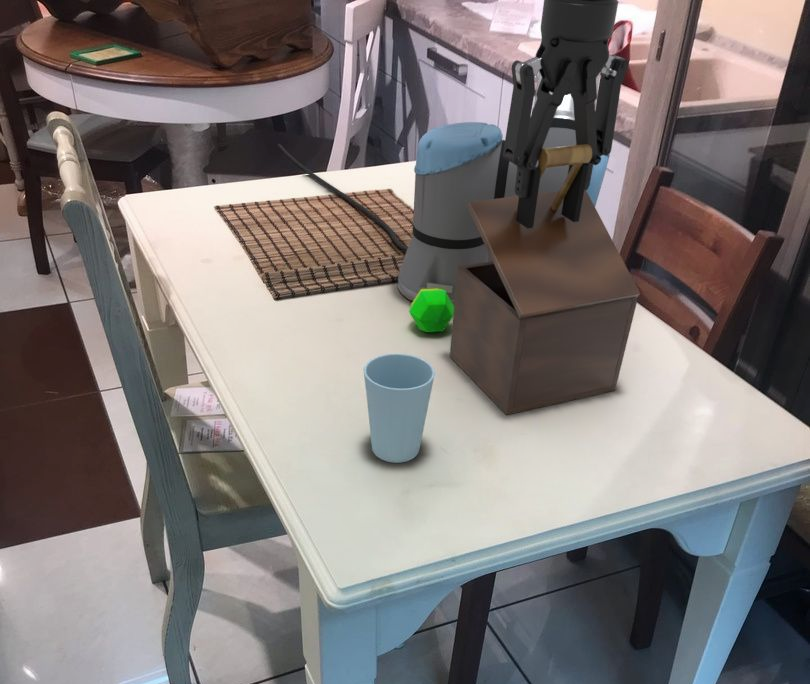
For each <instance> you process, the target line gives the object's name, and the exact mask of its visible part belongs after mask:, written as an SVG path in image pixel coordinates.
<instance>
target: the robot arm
mask: <svg viewBox="0 0 810 684" xmlns="http://www.w3.org/2000/svg"><path fill="white" fill-rule="evenodd" d="M618 7H619V0H543V5H542V14H541V19H540V20H541V21H540V36H541V41H540V43H539V44H540V45H539V47H538V49H537V51H536V52H535V56H533V57H531V58H529V59H527V60H525V61H521V60H514V61H512V65H511V75H512V83H513V84H512V85H513V86H512V93H511V101H510V106H509V113H508V119H507V126H506V131H505V132H506V133H505V138H504V135H503V133H502V129H501V128H500V127H499V126H498V125H496V124H492V123H489V124H488V123H487V122H479V121H467V122H454V123H449V124H445V125H441V126H438V127H437V126H436V127H435V128H433V129H430V130H428V131H427V132H426V133H424V134H423V135H422V137H421V138H420V139H419V141H418V145H417V151H416V159H415V165H414V168H413V172H414V174H415V176H414V196H413V215H412V232H411V233H412V234H411V239H410V241H409V244H408V245H407V246H406V245H404V244H403V243H402V242H401V241H400V240H399V239H398V237H397V235H396V234H395V232H394V231H393V229H392V228H391V227H390V226H389V225H388V224H387V223H386V222H384V221H383V220H382V219H380V218H379V217H378V216H377V215H375V214H374V213H373V212H371V211H370V210H369V209H367V208H366V207H364V206H363V205H362V204H360V203H359V202H357V201H356V200H354V199H353V198H352V197H351V196H349V195H347V194H345V193H344V192H342V191H341V190H340V189H338V188H336V187H334V186H333V185H332V184H330V183H329V182H327V181H326V180H324V179H323V178H321V177H320V176H318V175H317V174H316V173H314V172H313V171H311V170H310V169H308V168H307V167H306V166H304V165H303V164H302V163H300V162H299V161H298V160H297V159H296V158H294V156H292V155H291V153H290V152H289V151H287V149H285V147H284V146H283V145H282V144H280V143H278V144H277V148H278V149H279V150H280V151H281V153H282V154H284V156H285V157H286V158H288V159H289V160H290V161H291V162H292V163H293V165H295V166H296V167H298V168H299V169H300V170H302V172H304V173H305V174H307V175H308V176H309V177H311V178H312V179H314V180H315V181H316V182H318V183H319V184H321V185H322V186H324V187H325V188H327V189H329V190H330V191H332V192H333V193H335V194H336V195H337V196H339V197H341V198H342V199H344V200H345V201H346V202H348V203H350V204H351V205H353V206H354V207H356V209H358V210H360V211H361V212H362V213H364V214H365V215H366V216H368V217H369V218H370V219H372V220H373V221H374V222H376V224H378V225H380V226H381V227H382V228H383V229H384V230H385V231H386V233H388V235H389V236H390V238H391V240H392V241H393V243H394V244H395V246H396V247H397V248H399V249H400V250H401V251H403V252H405V255H404V258H403V260H402V263H401V265H400V268H399V272H398V276H397V288H398V291H399V293H400V294H401V295H402V296H403V297H405V298H406V299H408V300H409V301H411V302H413V301H414V299H415V298H416V296H417V295H418V293H419V292H420V290H421V289H435V288H437V289H441V290H445V291H446V293H447V295H448V297H449V299H450V301H451V303H452V304H453V306H454V303H455V292H456V281H457V270H458V267H459V266H465V265H472V264H478V263H485V262H491V261H492V259H491V256H490V254H489V252H488V250H487V248H486V246H485V244H484V242H483V239H482V237H481V235H480V233H479V231H478V229H477V227H476V225H475V222H474V220H473V218H472V216H471V214H470V212H469V210H468V208H467V206H468V204H469V202H474V201H482V200H490V199H499V198H507V197H515V196H519V200H518V208H517V216H516V221H517V222H519V223H520V224H522V225H523V226H525V227H526V228H533V225H534V218H535V211H536V204H537V197H538V194H539V193H548V192H556V191H559V190H560V188H561V186H562V185H563V183H564V181H565V179H566V177H567V175H568V173H569V172H570V170H571V168H572V166H573V165H565V166H556V167H547V168H546V169H545V171H544V173H543V175H542V177H541V179H540V176H541V170H540V169H539V168H537V166H538V164H539V163H538V158H539V155H540V153H541V150H542V148H551V147H561V146H571V145H580V144H589V145H590V146H591V148H592V158H591V160H590V162H588V163H583V164H582V166H581V168H580V170H579V172H578V173H577V175H576V177H575V179H574V181H573V182H572V184H571V186H570V188H569V190H568V192H567V193H566V195H565V197H564V201H563V207H562V213H561V214H562V215H563V216H565V217H566V218H568V219H569V220H571V221H573V222H578V221H579V217H580V212H581V206H582V201H583V195H584V190H586V191H587V193H588V195H589V197H590V199H591V201H592V203H593V204H594V206H595V207H596V206H597V202H598V200H599V199H598V198H599V195H600V192H601V188H602V185H603V181H604V178H605V174H606V171H607V167H608V164H609V159H610V156H611V152H612V150H613V149H612V148H613V142H614V134H615V128H616V121H617V116H618V115H617V114H618V108H619V101H620V97H621V96H620V95H621V89H622V83H623V81H624V78H625V76H626V73H627V71H628V70H629V67H630V66H629V65H630V63H629V60H628V59H626V58H623V57H620V56H618V55H615V54H610V50H609V39H610V38H612V36H613V34H614V29H615V23H616V17H617V12H618ZM535 83H536V84H535ZM503 138H504V139H503Z"/></svg>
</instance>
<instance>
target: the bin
mask: <svg viewBox="0 0 810 684" xmlns="http://www.w3.org/2000/svg"><path fill="white" fill-rule="evenodd" d="M637 303H638V297H637V298H632V299H626V300H621V301H615V302H610V303H604V304H598V305H593V306H587V307H582V308H576V309H571V310H565V311H560V312H554V313H549V314H543V315H538V316H532V317H527V318H521V319H520V318H519V316H518V314H517V312H516V310H515V308H514V305H513V303H512V301H511V299H510V297H509V295H508V293H507V291H506V288H505V286H504V284H503V282H502V280H501V278H500V276H499V273H498V271H497V269H496V267H495V265H494V263H493V261H491V262H485V263H478V264H472V265H465V266H459V267H458V270H457V281H456V292H455V303H454V313H453V317H452V326H451V327H452V328H451V337H450V346H449V347H450V348H449V349H450V350H449V358H451V359H452V360H453V362H455V364H456V365H457V366H458V367H459V368H460V369H461V370H462V371H463V372H464V373H465V374H466V375H467V376H468V377H469V378H470V379H471V380H472V381H473V382H474V384H475V385H476V386H477V387H479V388H480V390H481V391H482V392H483V393H485V395H486V396H487V397H488V398H490V400H491V402H493V403H494V404H495V405H496V406H497V408H499V409H500V411H502V413H504V414H505V416H507V415H513V414H517V413H521V412H524V411H526V412H527V411H530V410H535V409H538V408H539V409H540V408H543V407H547V406H553V405H557V404H561V403H566V402H570V401H575V400H579V399H582V398H583V399H584V398H588V397H593V396H597V395H600V394H606V393H610V392H614V391H616V389H617V384H618V381H619V378H620V377H619V376H620V372H621V368H622V364H623V361H624V357H625V353H626V348H627V344H628V340H629V337H630V333H631V328H632V324H633V320H634V315H635V311H636V307H637Z"/></svg>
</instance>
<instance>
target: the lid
mask: <svg viewBox="0 0 810 684" xmlns="http://www.w3.org/2000/svg"><path fill="white" fill-rule="evenodd" d="M591 158H592V148H591V146H590V145H589V144H580V145H571V146H561V147H551V148H542V150H541V153H540V155H539V158H538V163H539V164H538V166H537V168H539V169H540V170H541V176H540V179H541V177H542V175H543V173H544V171H545V169H546V168H547V167H556V166H565V165H573V166H572V168H571V170H570V172H569V173H568V175H567V177H566V179H565V181H564V183H563V185H562V186H561V188H560V190H559V191H556V192H548V193H539V194H538V197H537V204H536V211H535V218H534V225H533V228H526V227H525V226H523V225H522V224H520V223H519V222H517V221H516V216H517V208H518V200H519V196H515V197H507V198H499V199H490V200H482V201H474V202H469V204H468V206H467V208H468V210H469V212H470V214H471V216H472V218H473V220H474V222H475V225H476V227H477V229H478V231H479V233H480V235H481V237H482V239H483V242H484V244H485V246H486V248H487V250H488V252H489V254H490V256H491V259H492V261H493V263H494V265H495V267H496V269H497V271H498V273H499V276H500V278H501V280H502V282H503V284H504V286H505V288H506V291H507V293H508V295H509V297H510V299H511V301H512V303H513V305H514V308H515V310H516V312H517V314H518V316H519V318H520V319H521V318H527V317H532V316H538V315H543V314H549V313H554V312H560V311H565V310H571V309H576V308H582V307H587V306H593V305H598V304H604V303H610V302H615V301H621V300H626V299H632V298H637V299H638V297H639V296H640V295H641V292H640V290H639V288H638V286H637V285H636V283H635V281H634V278H633V277H632V275H631V273H630V271H629V269H628V267H627V265H626V263H625V261H624V260H623V258H622V256H621V254H620V253H619V250H618V249H617V246H616V244H615V243H614V241H613V239H612V237H611V235H610V233H609V231H608V229H607V228H606V225H605V224H604V221H603V220H602V218H601V215H600V214H599V212H598V210H597V208H596V206H594V204H593V203H592V201H591V199H590V197H589V195H588V193H587V191H586V190H584V195H583V201H582V206H581V212H580V217H579V221H578V222H573V221H571V220H569V219H568V218H566V217H565V216H563V215H562V214H561V213H562V207H563V201H564V197H565V195H566V193H567V192H568V190H569V188H570V186H571V184H572V182H573V181H574V179H575V177H576V175H577V173H578V172H579V170H580V168H581V166H582V164H583V163H588V162H590V160H591Z"/></svg>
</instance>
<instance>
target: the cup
mask: <svg viewBox="0 0 810 684" xmlns="http://www.w3.org/2000/svg"><path fill="white" fill-rule="evenodd" d="M435 374H436V373H435V369H434V367H433V366H432V364H431V363H430V362H428V361H427V360H425V359H423V358H421V357H418V356H415V355H412V354H407V353H388V354H387V353H386V354H382V355H381V354H380V355H378V356H376V357H373V358H372V359H370V360H369V361H368V362H367V363H365V366H364V368H363V377H364V386H365V395H366V403H367V413H368V422H369V433H370V444H371V450H372V452H373V454H374V455H375V456H376V457H377V458H378V459H379V460H382V461H383V462H388V463H392V464H393V463H395V464H398V463H399V464H400V463H405V462H406V463H407V462H409V461H411V460H413V459H414V458H416V457H417V455H418V454H419V453H420V448H421V444H422V439H423V434H424V429H425V424H426V420H427V415H428V409H429V403H430V400H431V394H432V389H433V384H434V380H435Z"/></svg>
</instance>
